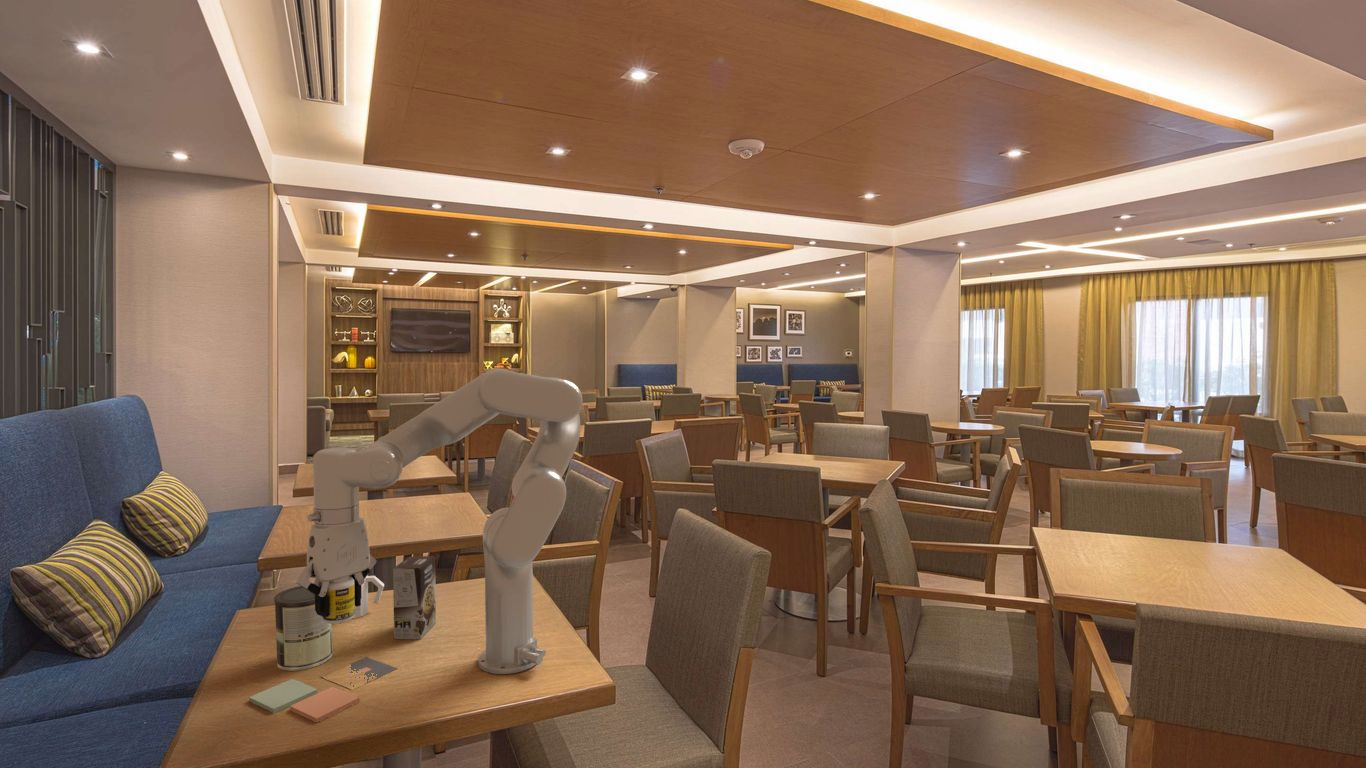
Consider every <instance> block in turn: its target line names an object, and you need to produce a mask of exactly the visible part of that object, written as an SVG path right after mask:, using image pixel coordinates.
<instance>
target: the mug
mask: <svg viewBox="0 0 1366 768" xmlns="http://www.w3.org/2000/svg"><path fill="white" fill-rule="evenodd" d="M368 583H373V584H374V585H375V586H376V587H377V592H376V594H375V597H374V600H373V601H372V603H373V604H375V605H378V604H379V602H380V599H381V597H382V593H383V591H384V588H385V583H384V582H383V581H381V580H380V579H379V578H378V577H376V575H367V576H366V578H365V579H364V583H363V584H362V585H361V595H362V597H361V605H360V606H358V607H357V606H355V615H354V617H353V618H354V619H357V617H359V618H362V617H363V616H364V615H366V614H368V613H369V594H368V593H369V591H368V589H369V586H368ZM361 616H362V617H361Z"/></svg>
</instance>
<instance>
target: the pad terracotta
mask: <svg viewBox="0 0 1366 768" xmlns="http://www.w3.org/2000/svg"><path fill="white" fill-rule="evenodd" d="M356 702H358V703H359V702H360V698H359V697H358V696H356V695H354V694H351V693H349V692H346V691H344V690H341V689H339V688H336V687H335V686H331V687H328V688H327V689H324V690H322V691H320V692H317V694H315V695H313V696H311V697H309V698H306V699H304V700H302V701H300V702H298V703H296V704H293V705H291V706H289V711H291V712H293V713H294V714H297V715H299V716H301V717H304V718H305V717H306V719H307V720H310V719H311V720H310V721H312V720H313V721H312V722H314V721H315V722H314V723H316V722H318V723H319V721H320V720H322V721H324V720H326V719H327V718H326V717H328V718H330V717H332V716H334V715H335V714H334V713H336V714H338V713H340V712H341V711H340V710H342V709H344V708H346V707H348V706H350V707H352V706H353V705H352V704H354V705H356V704H357V703H356ZM355 703H356V704H355ZM351 705H352V706H351ZM348 708H349V707H348ZM346 709H347V708H346ZM344 710H345V709H344ZM339 711H340V712H339ZM342 711H343V710H342ZM337 712H338V713H337ZM333 714H334V715H333ZM331 715H332V716H331ZM329 716H330V717H329ZM325 718H326V719H325ZM323 719H324V720H323ZM320 722H321V721H320Z"/></svg>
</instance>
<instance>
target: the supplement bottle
mask: <svg viewBox="0 0 1366 768" xmlns="http://www.w3.org/2000/svg"><path fill="white" fill-rule="evenodd" d="M326 595H328V596H329V609H330V615H329V616H328V617H326V618H325V617H323V621H324V622H325V623H328V624H332V625H337V624H343V623H346V622H348V621H351V620H353V619H352V618H353V617H354V615H355V584H354V579H353V578H352V577H350V576H346V577H342V578H339V579H335V580H332V581H330V582H329V585H328V589H327V592H326Z"/></svg>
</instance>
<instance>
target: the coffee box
mask: <svg viewBox="0 0 1366 768" xmlns="http://www.w3.org/2000/svg"><path fill="white" fill-rule="evenodd" d="M392 572H393V573H392V575H393V576H392V579H393V580H392V581H393V582H392V583H393V585H392V587H393V589H392V590H393V593H392V594H393V598H392V599H393V639H394V640H395V639H396V640H398V639H399V640H421V639H422V638H424V636H426V634H427V633H429V631H431V630H432V628H434V626H435V625H436V624H437V600H436V599H437V594H436V556H435V555H433V556H431V555H427V556H425V555H424V556H423V555H422V556H420V555H419V556H408V557H407V558H406V559H404V560H403V561H401V562H399V563H398V564H397V565H396V566H394V567H393V568H392Z"/></svg>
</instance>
